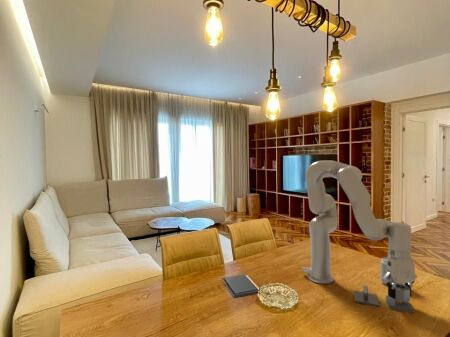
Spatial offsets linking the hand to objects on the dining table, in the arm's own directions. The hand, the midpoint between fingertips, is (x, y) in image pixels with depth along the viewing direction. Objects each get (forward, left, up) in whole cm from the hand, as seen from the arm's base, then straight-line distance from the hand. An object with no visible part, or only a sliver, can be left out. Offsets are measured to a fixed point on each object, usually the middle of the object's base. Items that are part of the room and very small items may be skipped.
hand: (399, 295), depth 104 cm
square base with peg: (0, 0, -4) cm, 4 cm away
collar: (0, 0, 0) cm, 0 cm away
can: (0, +20, -4) cm, 21 cm away
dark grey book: (-66, -9, -5) cm, 67 cm away
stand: (-12, 0, -4) cm, 13 cm away
